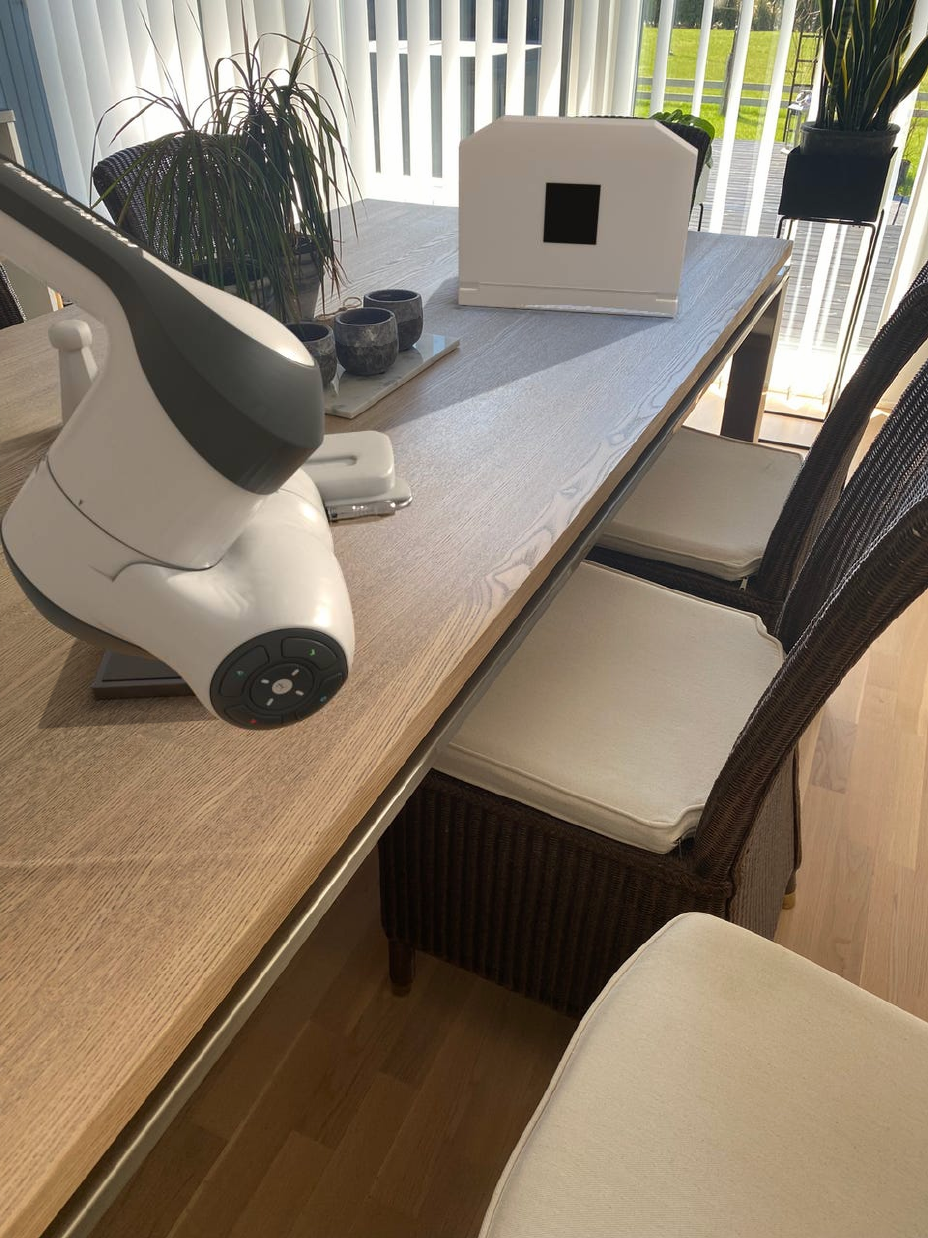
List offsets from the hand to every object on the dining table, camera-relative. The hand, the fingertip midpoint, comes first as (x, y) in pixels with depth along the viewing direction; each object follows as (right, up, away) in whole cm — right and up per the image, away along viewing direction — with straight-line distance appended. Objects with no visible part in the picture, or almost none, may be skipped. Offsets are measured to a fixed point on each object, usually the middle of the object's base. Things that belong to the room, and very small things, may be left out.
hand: (241, 435), depth 70 cm
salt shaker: (-26, +7, +38) cm, 46 cm away
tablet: (-5, -14, +8) cm, 17 cm away
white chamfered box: (+34, +40, +85) cm, 100 cm away
